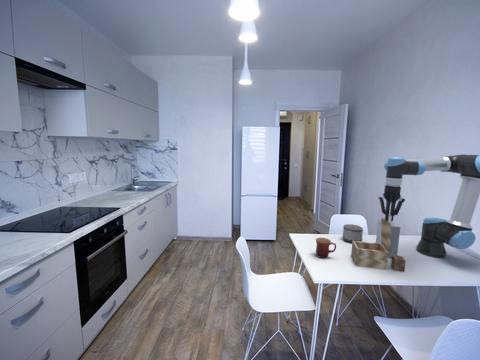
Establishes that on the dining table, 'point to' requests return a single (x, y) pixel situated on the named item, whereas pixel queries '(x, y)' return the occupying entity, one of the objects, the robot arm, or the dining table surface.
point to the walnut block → (398, 263)
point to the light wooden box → (369, 254)
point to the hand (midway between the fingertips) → (388, 226)
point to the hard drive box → (394, 237)
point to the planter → (352, 233)
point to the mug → (323, 247)
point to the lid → (386, 234)
